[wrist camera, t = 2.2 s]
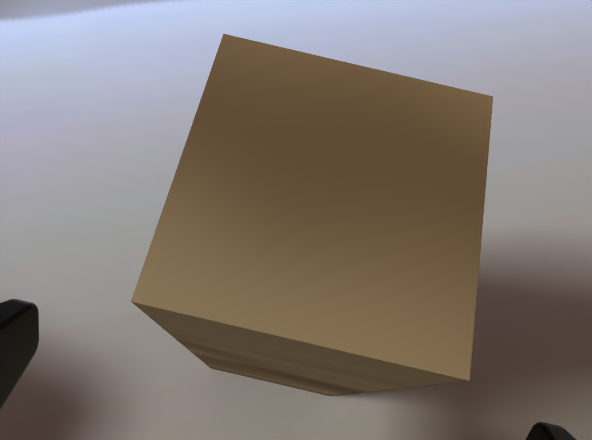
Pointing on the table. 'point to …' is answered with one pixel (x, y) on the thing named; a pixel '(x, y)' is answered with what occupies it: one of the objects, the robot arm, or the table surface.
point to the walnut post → (323, 225)
